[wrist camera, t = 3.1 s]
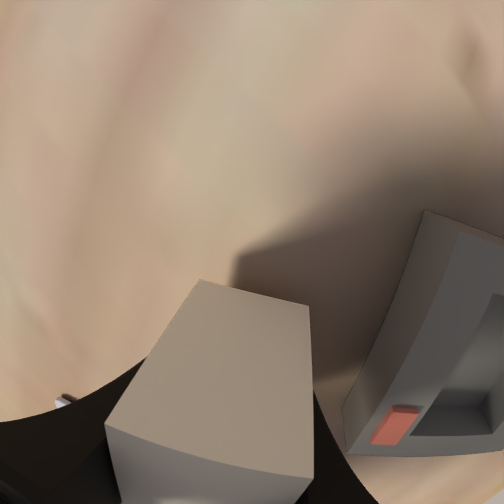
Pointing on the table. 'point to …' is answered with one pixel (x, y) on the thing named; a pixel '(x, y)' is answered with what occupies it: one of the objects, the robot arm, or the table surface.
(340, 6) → the table surface
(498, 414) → the socket
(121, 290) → the table surface
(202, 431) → the plug
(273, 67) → the table surface
